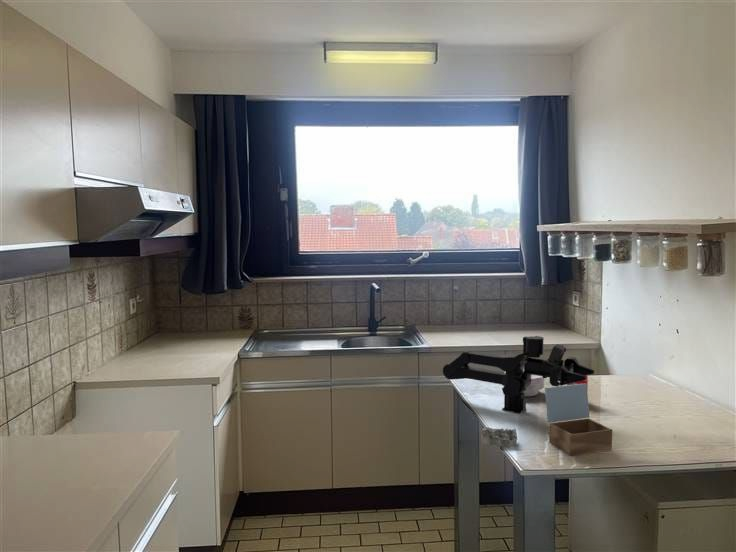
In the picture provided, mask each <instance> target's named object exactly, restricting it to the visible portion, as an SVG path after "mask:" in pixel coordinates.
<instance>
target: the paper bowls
mask: <svg viewBox="0 0 736 552" xmlns="http://www.w3.org/2000/svg"><path fill="white" fill-rule="evenodd" d="M523 371H524V369H523ZM503 372H504V373H506V371H503ZM542 389H545V378H543V376H537V375H531V384H530V385H529V386H528V387H527V388H526V390H525V391H523V393H525V397H533V396H536V395H537V394H538V393H539V391H540V390H542Z"/></svg>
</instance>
